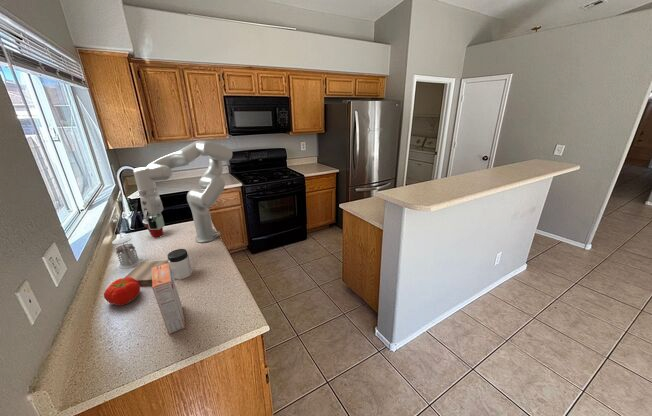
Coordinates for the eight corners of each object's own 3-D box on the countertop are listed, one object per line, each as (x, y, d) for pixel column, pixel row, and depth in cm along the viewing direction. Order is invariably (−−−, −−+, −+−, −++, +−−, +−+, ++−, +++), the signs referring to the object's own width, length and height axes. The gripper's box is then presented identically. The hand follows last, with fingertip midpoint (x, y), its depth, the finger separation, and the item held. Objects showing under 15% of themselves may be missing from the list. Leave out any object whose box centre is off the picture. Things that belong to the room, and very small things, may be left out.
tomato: (113, 294, 114) (106, 278, 111) (145, 287, 118) (140, 271, 115) (101, 314, 103) (94, 296, 100) (138, 305, 107) (132, 288, 104)
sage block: (164, 225, 138) (162, 214, 136) (159, 229, 133) (156, 218, 131) (155, 225, 137) (152, 215, 135) (149, 229, 133) (146, 218, 131)
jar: (168, 277, 124) (162, 256, 120) (182, 268, 131) (176, 247, 127) (183, 281, 122) (177, 258, 117) (196, 271, 129) (191, 249, 124)
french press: (139, 256, 144) (125, 214, 135) (143, 264, 136) (129, 220, 127) (117, 263, 138) (101, 220, 128) (121, 272, 130) (104, 226, 121)
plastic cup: (147, 241, 159) (142, 224, 155) (147, 235, 168) (142, 218, 163) (168, 236, 165) (163, 219, 161) (166, 230, 173) (162, 214, 169)
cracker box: (165, 311, 103) (150, 267, 96) (182, 305, 106) (169, 261, 99) (167, 335, 92) (151, 287, 84) (186, 328, 95) (172, 280, 87)
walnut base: (174, 265, 134) (173, 260, 133) (158, 284, 119) (156, 279, 118) (142, 267, 133) (140, 262, 132) (122, 287, 119) (120, 281, 118)
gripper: (145, 197, 121) (154, 233, 127) (165, 187, 137) (172, 219, 143) (129, 197, 121) (139, 233, 127) (150, 188, 137) (158, 220, 143)
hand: (156, 225), depth 135 cm, fingers closed on sage block, 5 cm apart
